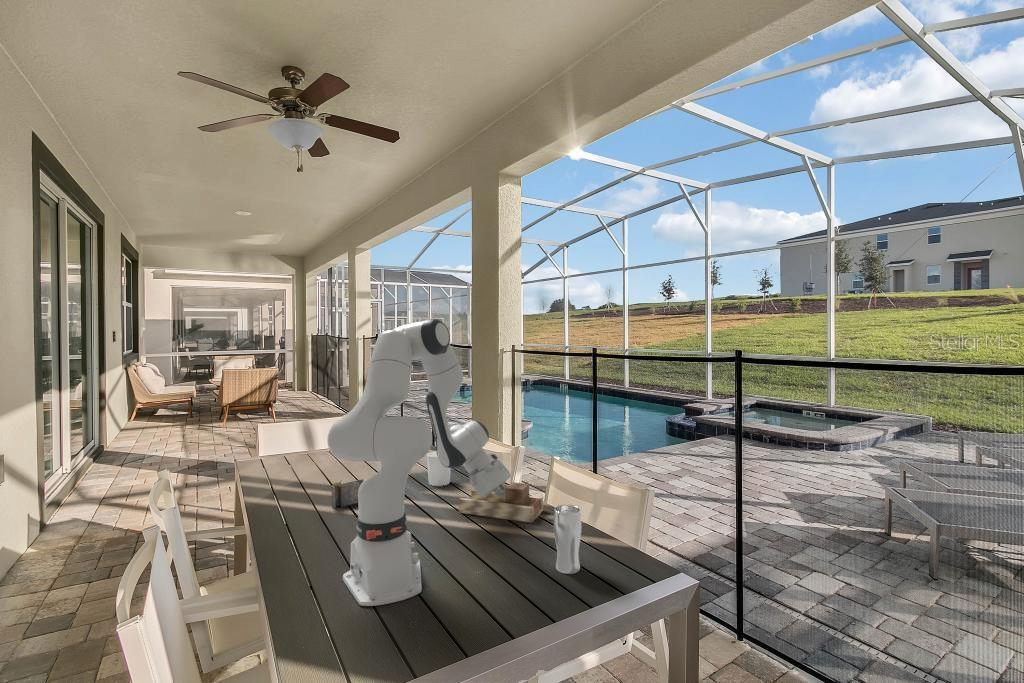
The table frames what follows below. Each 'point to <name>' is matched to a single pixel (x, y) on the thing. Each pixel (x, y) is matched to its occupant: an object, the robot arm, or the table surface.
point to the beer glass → (567, 537)
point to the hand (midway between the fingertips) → (507, 497)
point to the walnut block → (517, 494)
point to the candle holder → (437, 470)
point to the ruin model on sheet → (345, 493)
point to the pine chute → (501, 507)
